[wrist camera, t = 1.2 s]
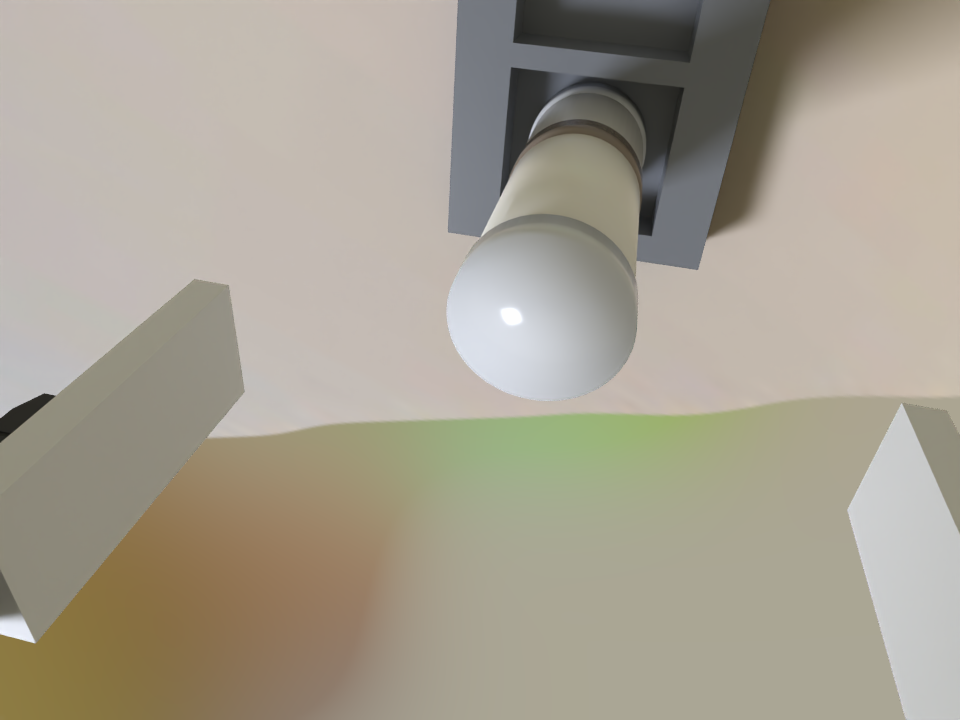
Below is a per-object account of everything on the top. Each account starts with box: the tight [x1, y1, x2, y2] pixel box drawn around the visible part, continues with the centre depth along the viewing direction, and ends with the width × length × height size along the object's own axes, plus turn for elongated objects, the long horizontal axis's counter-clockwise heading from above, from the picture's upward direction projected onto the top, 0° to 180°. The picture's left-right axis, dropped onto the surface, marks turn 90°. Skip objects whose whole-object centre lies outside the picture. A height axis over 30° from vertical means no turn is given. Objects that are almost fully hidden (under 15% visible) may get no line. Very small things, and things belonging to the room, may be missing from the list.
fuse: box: [447, 82, 646, 401], centre depth 22 cm, size 4×4×14 cm
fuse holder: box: [448, 0, 770, 270], centre depth 26 cm, size 10×14×2 cm
